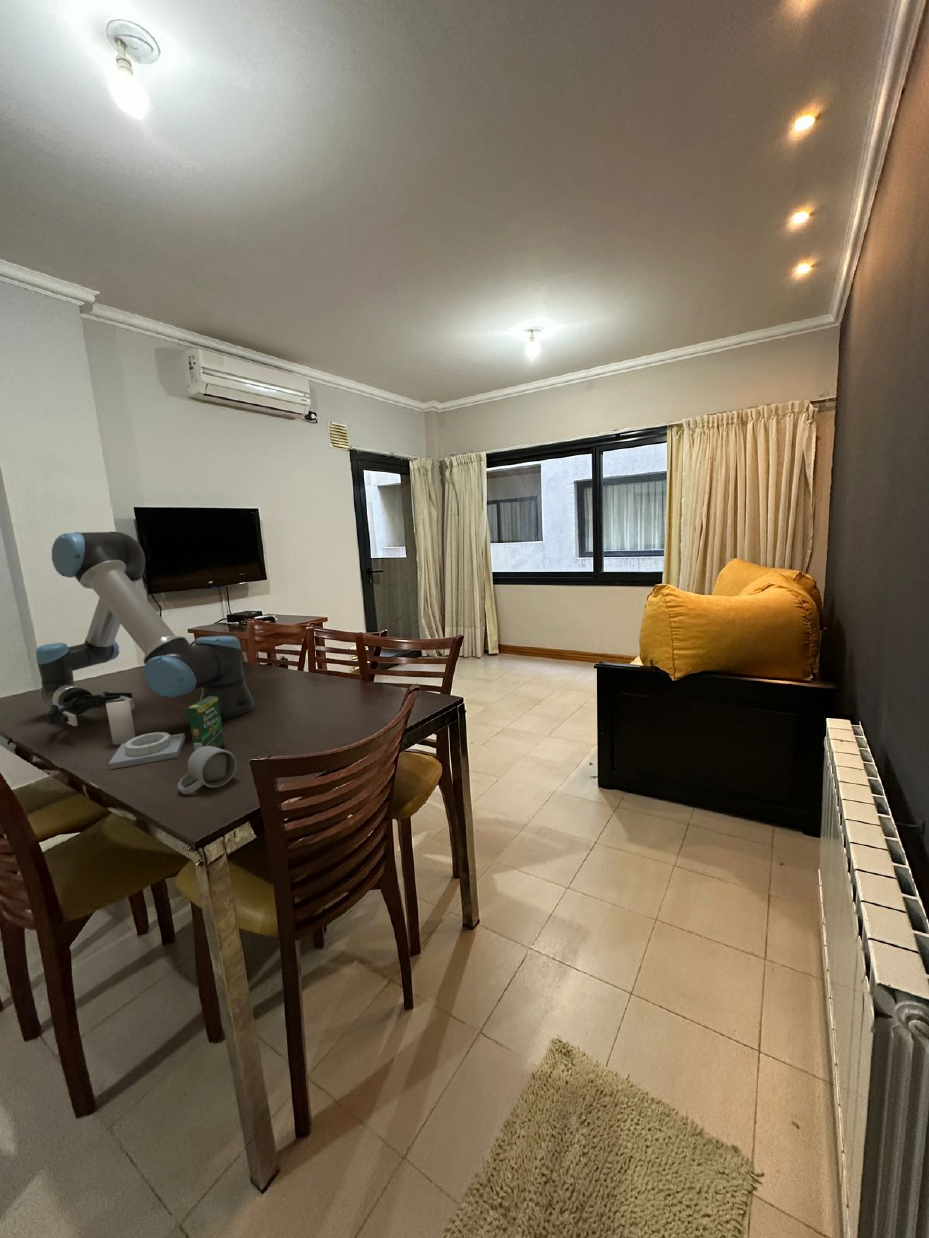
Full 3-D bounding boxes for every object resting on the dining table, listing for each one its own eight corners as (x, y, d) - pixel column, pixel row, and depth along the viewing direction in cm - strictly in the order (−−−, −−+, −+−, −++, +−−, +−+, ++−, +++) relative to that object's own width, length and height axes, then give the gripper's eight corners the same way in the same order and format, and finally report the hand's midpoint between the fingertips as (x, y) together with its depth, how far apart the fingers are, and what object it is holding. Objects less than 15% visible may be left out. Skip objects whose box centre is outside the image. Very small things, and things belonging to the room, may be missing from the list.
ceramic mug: (220, 768, 113) (215, 737, 111) (239, 778, 108) (234, 745, 106) (171, 789, 104) (165, 756, 103) (189, 801, 100) (183, 766, 98)
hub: (185, 738, 130) (183, 726, 130) (178, 757, 119) (176, 743, 119) (122, 748, 125) (120, 736, 124) (109, 769, 114) (106, 755, 113)
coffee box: (204, 759, 118) (197, 707, 115) (193, 759, 118) (186, 707, 116) (225, 744, 125) (219, 695, 123) (215, 744, 126) (208, 695, 123)
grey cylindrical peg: (137, 735, 133) (130, 695, 131) (133, 742, 129) (126, 701, 127) (115, 739, 132) (108, 698, 129) (110, 746, 127) (103, 704, 125)
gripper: (122, 698, 156) (155, 710, 145) (21, 726, 136) (50, 742, 124) (118, 676, 155) (151, 685, 143) (16, 700, 134) (45, 714, 123)
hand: (105, 712), depth 134 cm, fingers open, 13 cm apart
